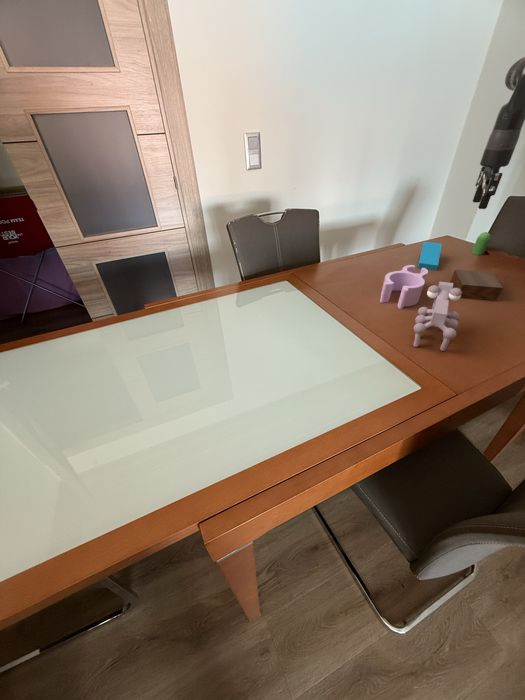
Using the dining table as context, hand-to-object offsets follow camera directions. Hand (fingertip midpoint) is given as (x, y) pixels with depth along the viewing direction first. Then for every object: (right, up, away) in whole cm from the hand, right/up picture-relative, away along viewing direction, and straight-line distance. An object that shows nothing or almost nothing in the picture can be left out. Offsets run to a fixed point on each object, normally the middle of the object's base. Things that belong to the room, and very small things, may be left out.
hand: (478, 205), depth 101 cm
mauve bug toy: (-22, -43, -10) cm, 49 cm away
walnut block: (+3, -27, +7) cm, 28 cm away
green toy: (+23, -6, +33) cm, 40 cm away
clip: (-22, -29, +7) cm, 37 cm away
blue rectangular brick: (-2, -10, +28) cm, 30 cm away
